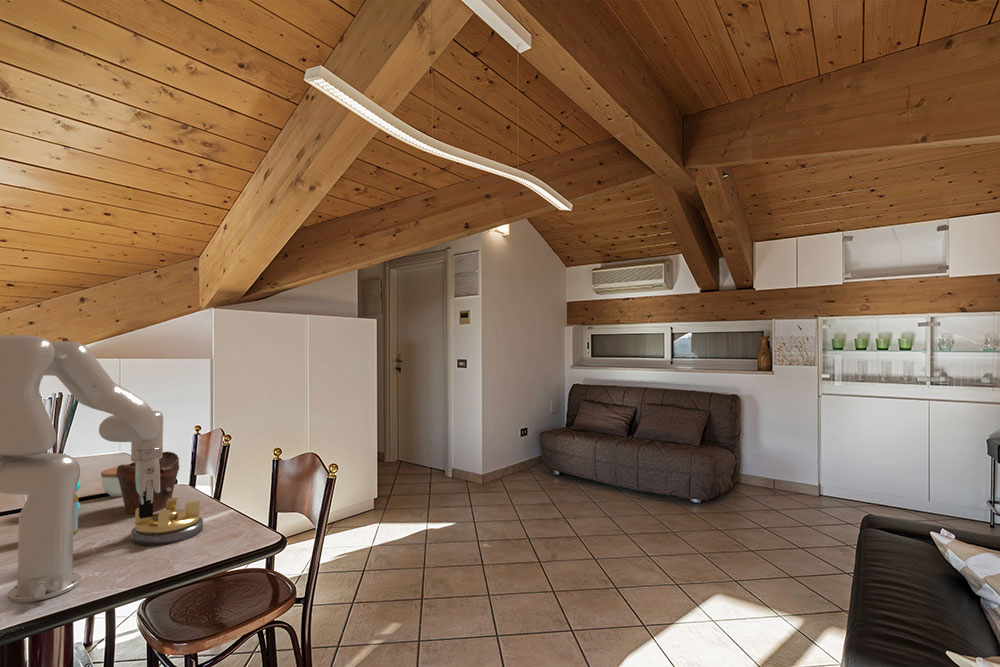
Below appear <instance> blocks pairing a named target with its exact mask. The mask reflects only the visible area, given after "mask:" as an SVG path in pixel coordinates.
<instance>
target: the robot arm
mask: <svg viewBox="0 0 1000 667" xmlns="http://www.w3.org/2000/svg"><path fill="white" fill-rule="evenodd" d="M103 367H104V366H102V364H101V363H100V362H99V361H98V359H97V358H96V357H95V355H94V354H93V353H92V352H91V350H90V349H89V348H88V347H87V346H86V345H84V343H80V342H77V341H62V340H61V341H60V340H59V341H53V340H52V341H50V340H48V339H47V338H45V337H42V336H36V335H23V334H21V335H19V334H14V335H13V334H12V335H10V334H9V335H6V334H2V335H1V334H0V494H4V495H5V494H6V495H24V496H28V498H27V500H26V502H25V504H24V505H23V507H22V509H21V511H20V514H19V515H18V516H19V517H18V540H17V541H18V545H17V548H18V549H17V550H18V551H17V585H16V586H14V587H12V588H11V589H10V590H9V591H8V593H7V600H8V601H9V602H12V603H17V604H18V603H19V604H20V603H21V604H22V603H23V604H24V603H25V604H26V603H33V602H38V601H42V600H47V599H51V598H54V597H57V596H59V595H62V594H64V593H67V592H69V591H71V590H73V589H75V587H77V586H78V585H79V584H80V583H81V580H82V578H81V577H82V576H81V575H80V574H79V573H77V572H73V569H74V568H73V566H74V562H73V560H74V535H73V524H74V499H75V492H76V493H77V491H76V488H77V484H78V481H79V480H80V476H81V467H80V466H81V465H80V463H79V462H78V461H77V459H75V458H74V457H72V456H71V455H68V454H65V453H59V452H58V453H56V452H48V451H49V450H51V449H52V448H53V447H54V446H55V444H56V441H57V434H56V433H57V432H56V429H55V427H54V424H53V422H52V420H51V418H50V416H49V414H48V410H47V409H46V407H45V404H44V401H43V399H42V396H41V394H40V386H41V382H42V380H43V377H45V376H52V377H56V378H58V380H59V381H60V382H61V383H62V384H63V385H64V387H65V388H66V389H67V390H68V391H69V393H70V394H71V395H72V396H73V397H74V399H75V400H76V401H77V402H78V403H80V404H81V405H83V406H86V407H88V408H91V409H94V410H96V411H100V412H102V413H103V412H104V413H108V414H110V416H107V417H105V419H103V420H102V421H101V422H100V424H99V426H98V427H99V428H98V433H99V435H100V437H101V438H102V439H103V440H105V441H108V442H113V443H130V444H131V445H130V448H131V449H130V451H131V452H130V461H131V462H132V463H133V462H136V471H135V483H136V490H137V492H138V494H139V495H140V503H141V504H139V518H140V519H142V518H148V517H152V516H153V514H154V511H153V490H154V491H155V492H156V493H157V494H158V493H160V465H159V459H161V458H162V454H163V452H164V451H163V450H164V449H163V448H164V447H163V446H164V445H163V441H164V440H163V439H164V438H163V437H164V414H163V413H162V412H161V411H159V410H153V408H151V406H150V405H149V404H148V403H147V401H145V400H143V399H142V398H141V397H140V396H138V395H136V394H134V393H132V392H131V391H129V390H128V389H127V388H125V387H123V386H121V385H118V384H117V383H116V382H114V380H113V379H112V377H111V376H110V374H108V373H107V372H106V370H105V368H103Z"/></svg>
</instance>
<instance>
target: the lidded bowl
mask: <svg viewBox="0 0 1000 667" xmlns="http://www.w3.org/2000/svg"><path fill="white" fill-rule="evenodd" d="M121 465H125V464H123V463H122V464H121ZM117 467H118V466H115V467H111V468H106V469H105V470H102V471H101V472H100V478H101V480H100V481H101V487H102V488H103V490H104V492H105V493H106V494H108V495H109V496H110V497H114V498H115V497H117V498H118V497H122V492H121V488H120V484H119V480H118V477H116V472H117Z"/></svg>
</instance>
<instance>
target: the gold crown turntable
mask: <svg viewBox="0 0 1000 667" xmlns="http://www.w3.org/2000/svg"><path fill="white" fill-rule="evenodd" d="M200 503H201V500H197V501H186V503H185V509H179V507H178V506H179V498H178V496H177V497H172V498H168V500H167V502H166V507H165V510H164V509H162V510H159V512H157V513H153V516H152V517H148V518H142V519H140V518H139V508H137V509H136V510H135V514H134V515H135V516H134V520H135V521H134V524H135V527H136V529H135V531H136V533H138V534H142V535H161V534H168V533H173V532H177V531H181V530H184V529H187V528H190V527H192V526H194V525H196V524H197V523H198V522H199V517H200V514H201V512H200V511H201V507H200V506H201V504H200Z"/></svg>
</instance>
